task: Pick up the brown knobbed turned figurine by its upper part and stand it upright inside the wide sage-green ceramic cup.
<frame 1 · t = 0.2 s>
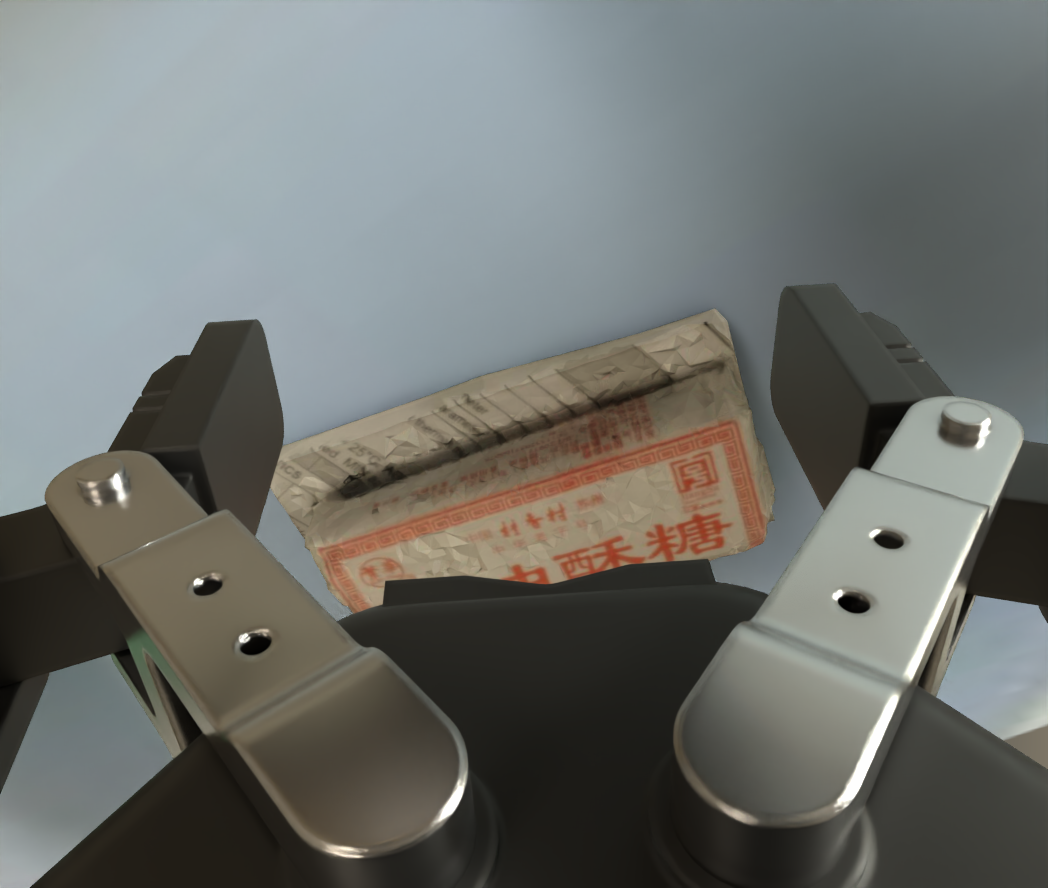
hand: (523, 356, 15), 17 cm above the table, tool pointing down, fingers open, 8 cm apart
packaged product: (524, 471, 37), on the table
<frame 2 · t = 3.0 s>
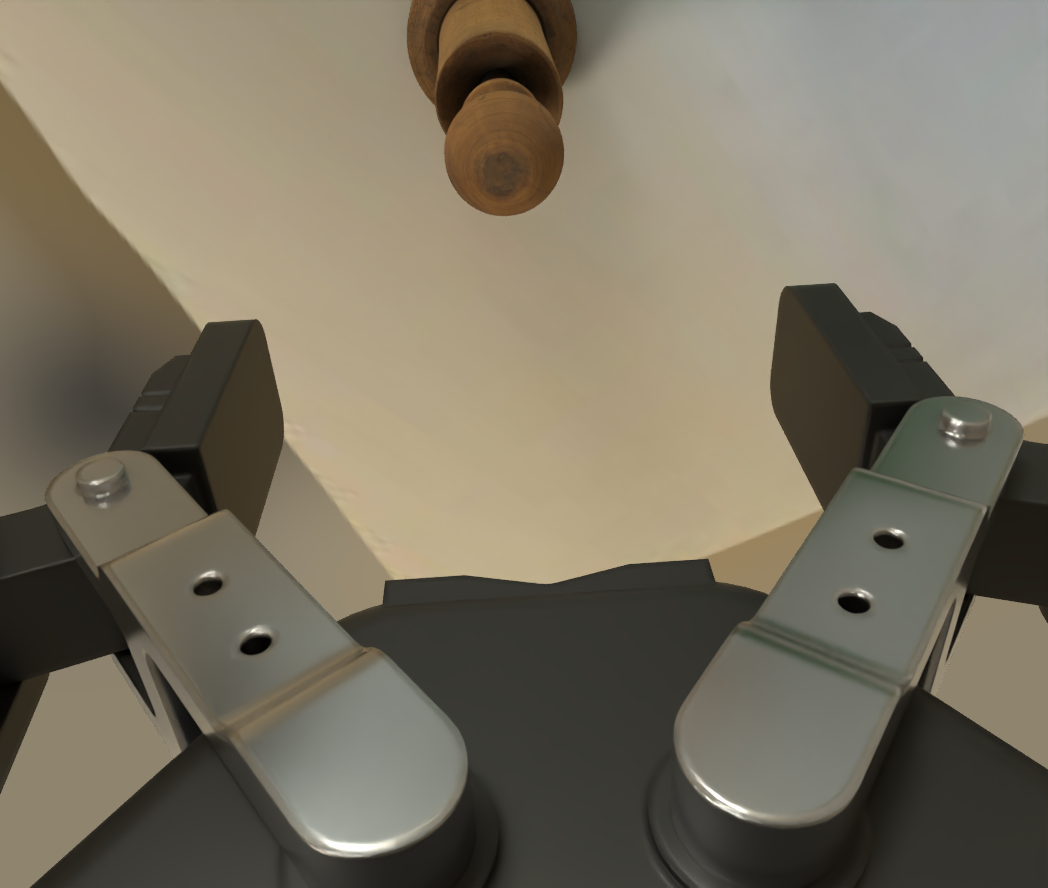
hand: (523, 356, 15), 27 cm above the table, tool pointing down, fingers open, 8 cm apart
brown knobbed turned figurine: (490, 29, 37), on the table
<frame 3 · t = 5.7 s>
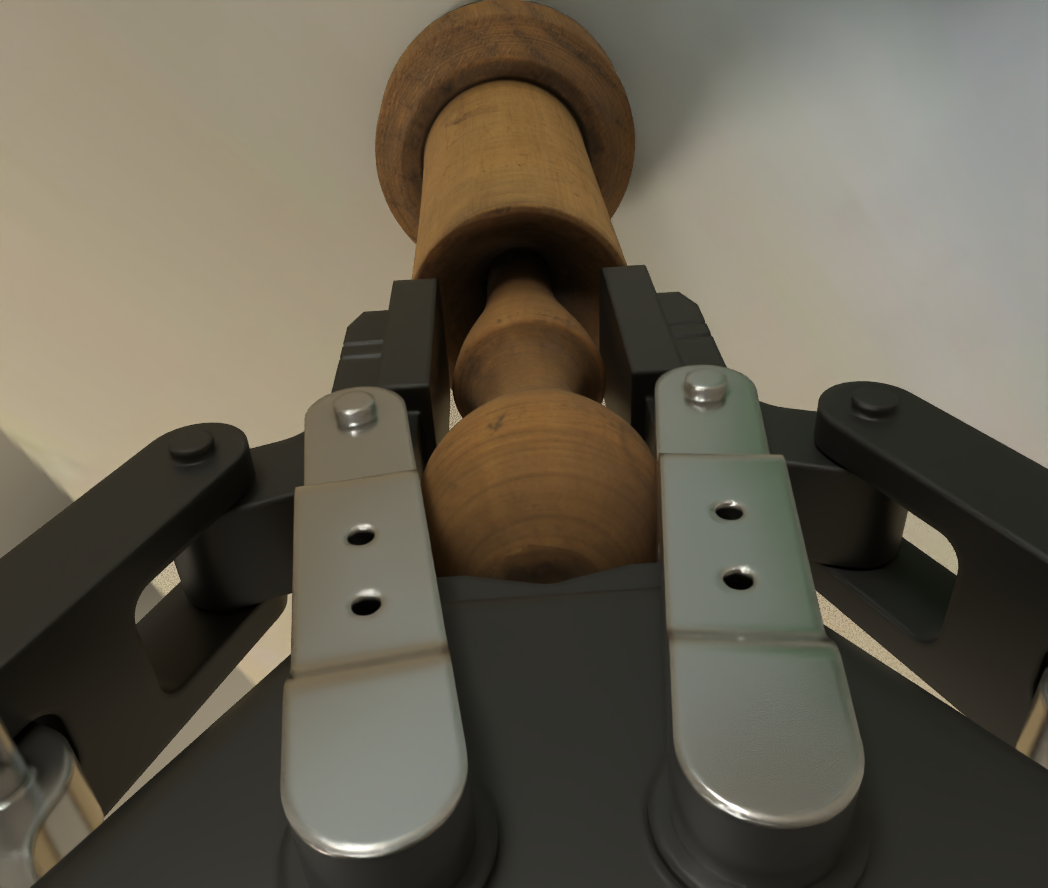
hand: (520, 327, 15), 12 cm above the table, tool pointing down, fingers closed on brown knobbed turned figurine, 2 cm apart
brown knobbed turned figurine: (502, 129, 25), on the table, touching gripper
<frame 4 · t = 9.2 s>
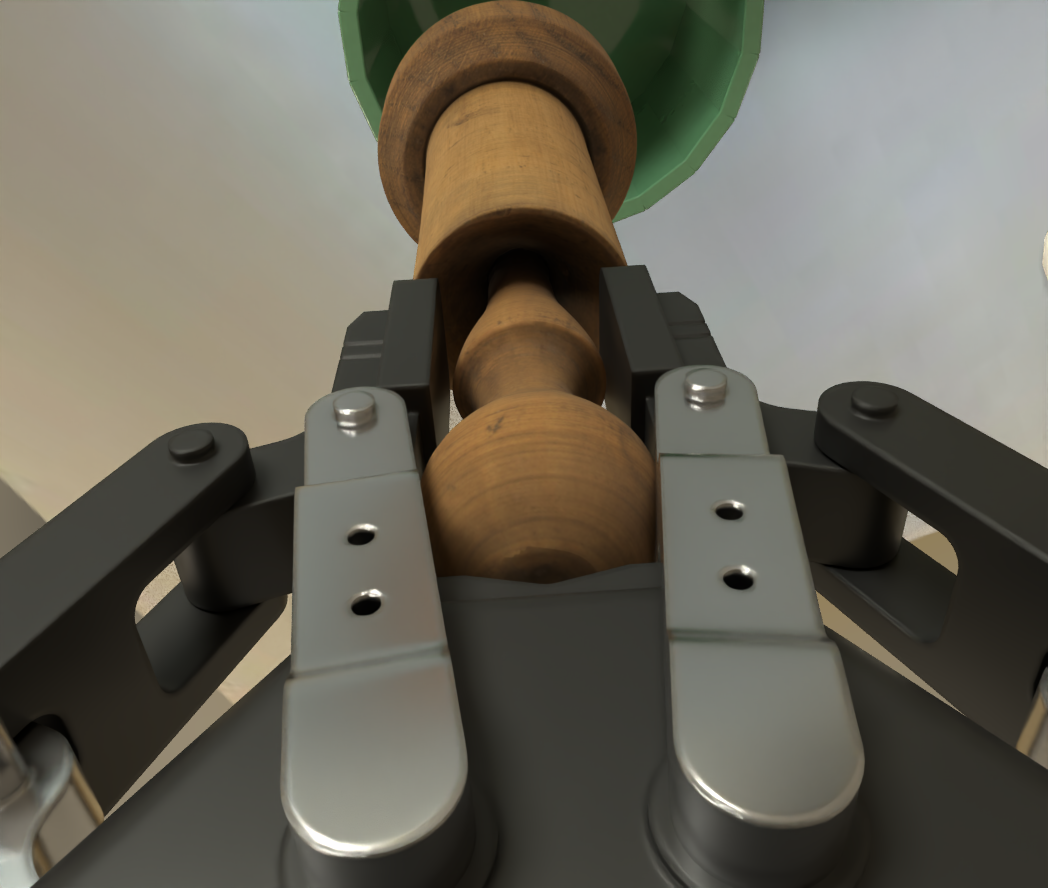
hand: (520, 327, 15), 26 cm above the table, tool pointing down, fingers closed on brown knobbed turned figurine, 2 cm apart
brown knobbed turned figurine: (504, 130, 25), point 15 cm above the table, touching gripper
when the fingers open (12 cm above the table, at t = 12.8 s): brown knobbed turned figurine stays where it is, resting on cup.
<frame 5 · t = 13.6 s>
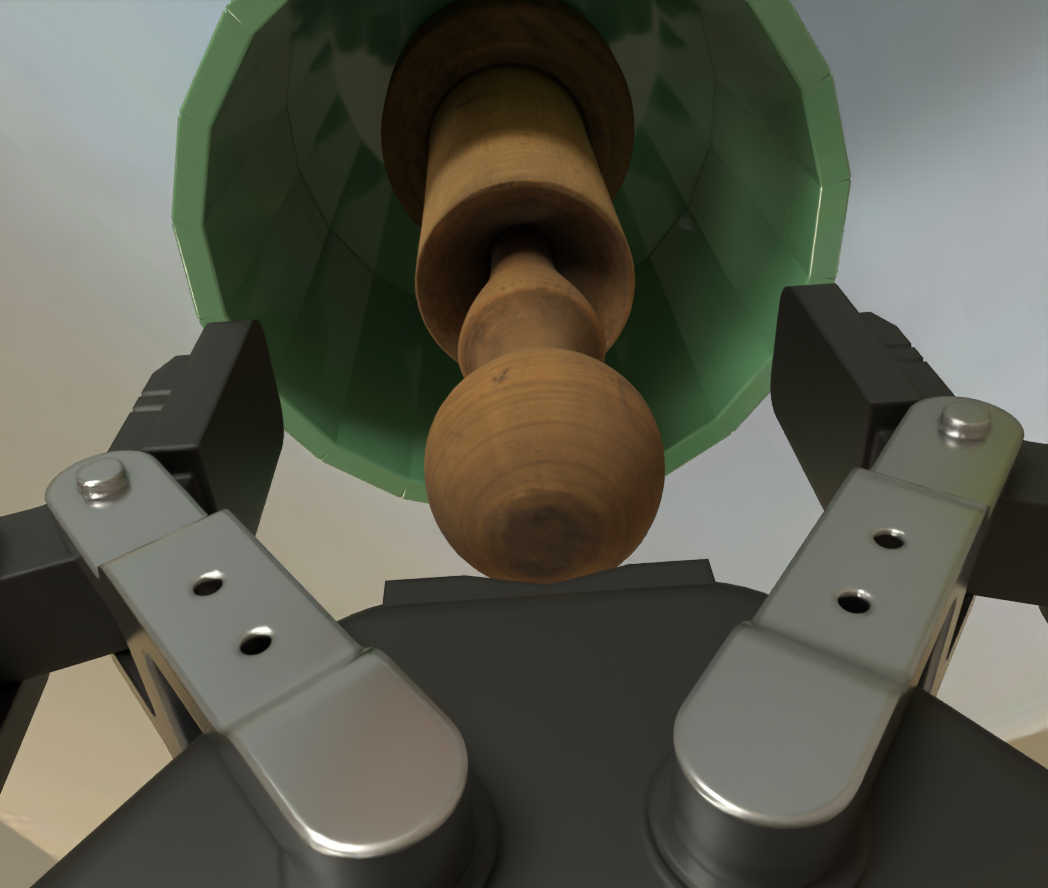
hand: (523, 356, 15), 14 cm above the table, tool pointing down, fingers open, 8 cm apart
cup: (502, 115, 26), on the table
brown knobbed turned figurine: (505, 116, 26), point 1 cm above the table, touching cup
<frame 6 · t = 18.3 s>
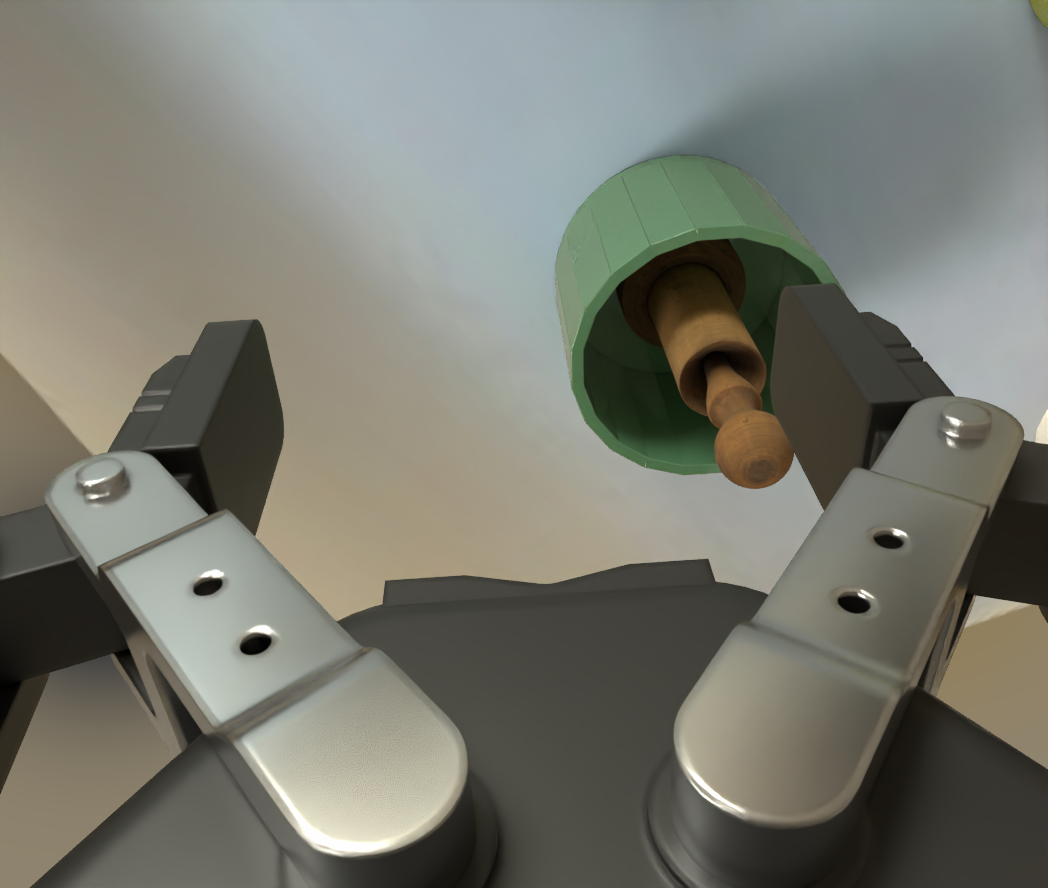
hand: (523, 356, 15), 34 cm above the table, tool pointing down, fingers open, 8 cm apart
cup: (671, 272, 51), on the table
brown knobbed turned figurine: (675, 274, 50), point 1 cm above the table, touching cup
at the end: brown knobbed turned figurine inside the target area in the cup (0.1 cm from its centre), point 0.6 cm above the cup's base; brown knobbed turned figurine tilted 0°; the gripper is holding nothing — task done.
